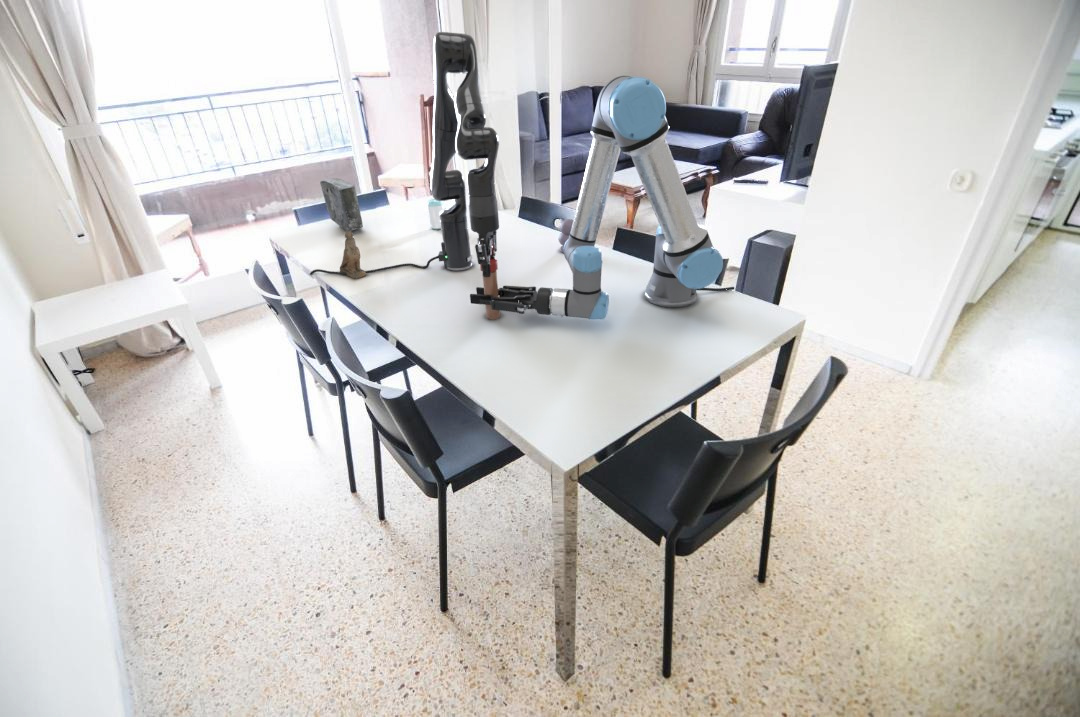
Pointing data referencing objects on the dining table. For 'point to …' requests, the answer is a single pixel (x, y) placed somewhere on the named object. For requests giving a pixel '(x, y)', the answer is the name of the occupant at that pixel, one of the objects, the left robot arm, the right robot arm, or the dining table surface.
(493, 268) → the lid
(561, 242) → the mauve bulbous figurine
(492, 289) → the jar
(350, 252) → the brown carved statuette
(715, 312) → the dining table surface
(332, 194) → the concrete block
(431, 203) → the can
